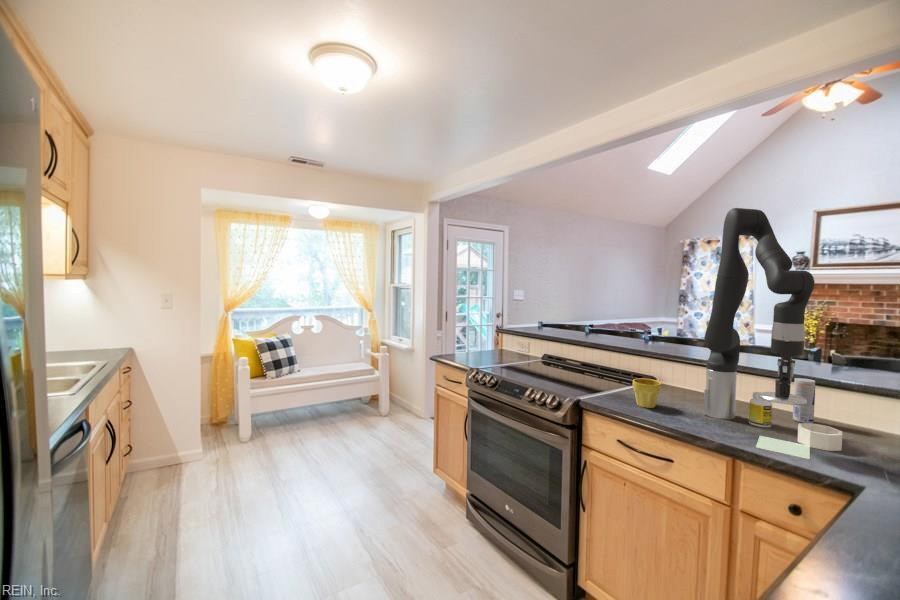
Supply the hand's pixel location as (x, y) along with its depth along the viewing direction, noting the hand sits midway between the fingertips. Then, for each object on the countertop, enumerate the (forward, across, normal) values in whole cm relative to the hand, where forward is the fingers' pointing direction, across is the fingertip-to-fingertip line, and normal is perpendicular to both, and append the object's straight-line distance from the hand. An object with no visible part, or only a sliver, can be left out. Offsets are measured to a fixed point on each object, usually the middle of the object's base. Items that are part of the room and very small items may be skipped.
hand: (784, 395), depth 120 cm
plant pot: (+17, -16, -43) cm, 49 cm away
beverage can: (+16, -34, +4) cm, 38 cm away
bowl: (+16, -10, +8) cm, 20 cm away
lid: (+1, 0, -1) cm, 2 cm away
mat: (+16, 0, 0) cm, 16 cm away
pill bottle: (+16, -19, -7) cm, 26 cm away
